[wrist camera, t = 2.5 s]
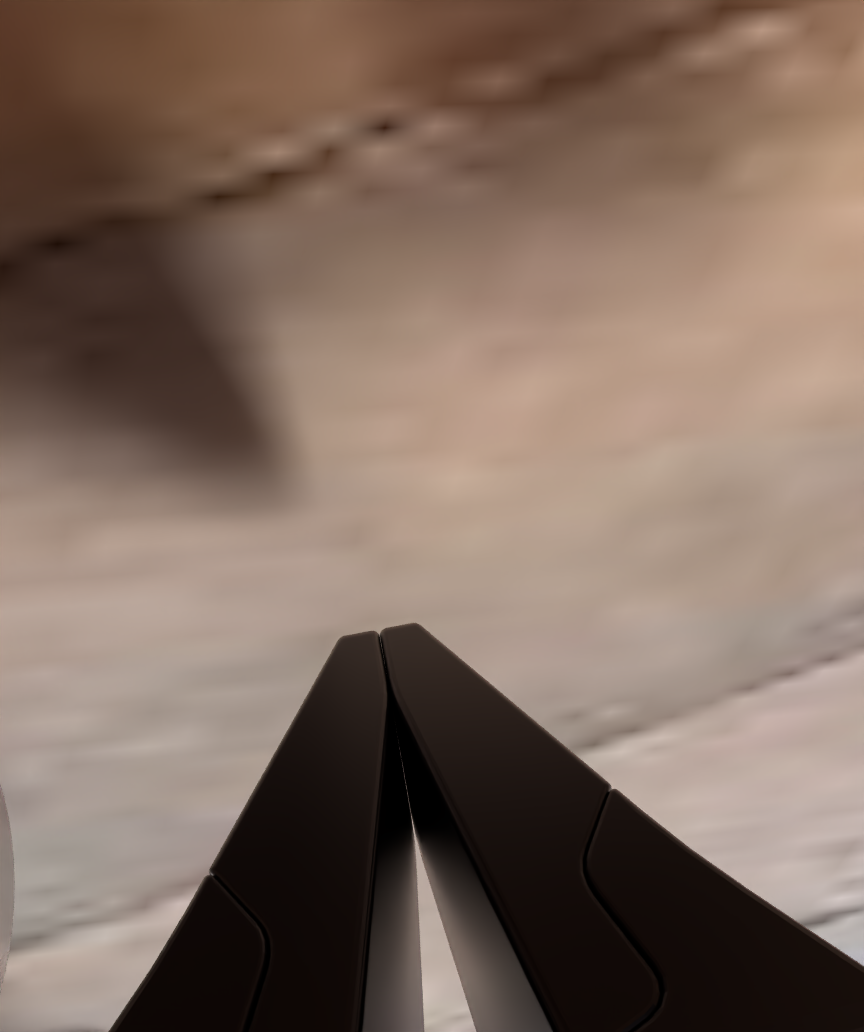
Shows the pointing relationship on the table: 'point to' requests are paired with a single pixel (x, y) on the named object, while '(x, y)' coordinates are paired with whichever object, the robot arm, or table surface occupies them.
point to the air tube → (5, 887)
